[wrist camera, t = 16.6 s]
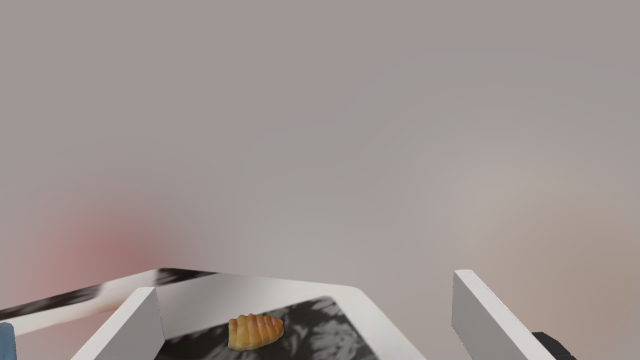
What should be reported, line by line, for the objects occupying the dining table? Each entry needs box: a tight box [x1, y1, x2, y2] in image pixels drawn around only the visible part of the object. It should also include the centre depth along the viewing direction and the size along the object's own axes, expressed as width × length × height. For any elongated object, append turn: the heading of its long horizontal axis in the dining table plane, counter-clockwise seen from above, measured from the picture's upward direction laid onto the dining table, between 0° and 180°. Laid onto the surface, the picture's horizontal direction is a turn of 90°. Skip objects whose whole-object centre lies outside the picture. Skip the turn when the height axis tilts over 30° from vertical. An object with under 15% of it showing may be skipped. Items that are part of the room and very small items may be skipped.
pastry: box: [228, 314, 284, 352], centre depth 58 cm, size 9×7×4 cm
